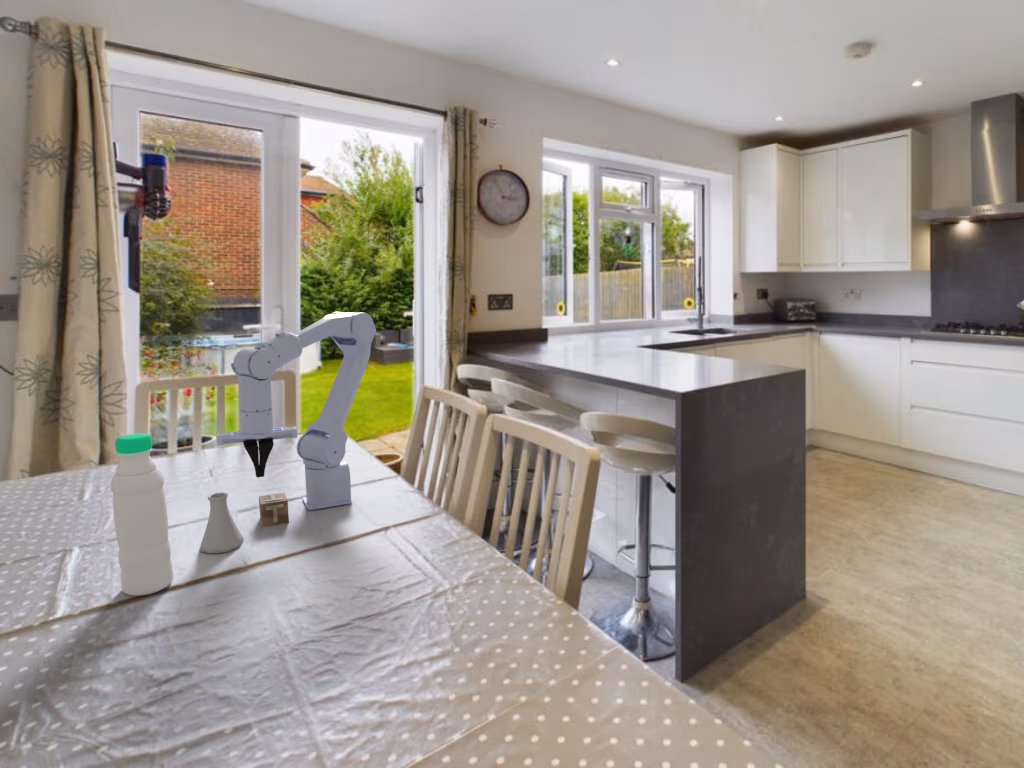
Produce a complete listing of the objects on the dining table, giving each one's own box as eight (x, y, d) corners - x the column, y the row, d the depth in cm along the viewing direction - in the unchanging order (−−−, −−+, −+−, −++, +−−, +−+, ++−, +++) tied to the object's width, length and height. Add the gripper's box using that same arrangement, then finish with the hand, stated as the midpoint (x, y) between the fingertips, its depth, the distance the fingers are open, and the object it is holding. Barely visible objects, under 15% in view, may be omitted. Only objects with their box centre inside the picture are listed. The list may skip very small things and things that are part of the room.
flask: (229, 555, 103) (225, 503, 101) (191, 554, 103) (186, 501, 102) (250, 538, 110) (247, 489, 108) (214, 537, 111) (210, 487, 109)
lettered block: (285, 514, 122) (284, 491, 121) (289, 523, 117) (287, 499, 117) (260, 519, 120) (258, 495, 119) (262, 528, 115) (261, 503, 114)
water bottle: (161, 571, 97) (147, 428, 93) (182, 583, 93) (168, 434, 89) (114, 588, 91) (97, 437, 87) (134, 602, 87) (117, 444, 83)
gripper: (215, 416, 106) (220, 486, 108) (298, 410, 113) (301, 476, 115) (214, 409, 112) (219, 476, 114) (293, 404, 119) (295, 467, 121)
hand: (260, 475), depth 115 cm, fingers closed
